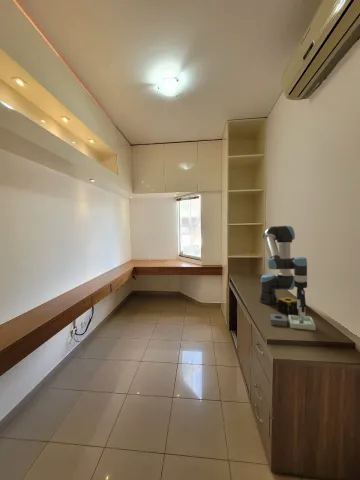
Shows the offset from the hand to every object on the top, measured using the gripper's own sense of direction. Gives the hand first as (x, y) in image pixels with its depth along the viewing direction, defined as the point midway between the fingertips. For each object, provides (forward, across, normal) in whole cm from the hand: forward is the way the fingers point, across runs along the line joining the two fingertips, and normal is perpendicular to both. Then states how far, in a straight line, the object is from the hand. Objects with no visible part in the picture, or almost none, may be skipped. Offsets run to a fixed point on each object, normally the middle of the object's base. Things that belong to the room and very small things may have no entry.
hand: (301, 312), depth 150 cm
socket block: (+8, 0, -14) cm, 16 cm away
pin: (+7, 0, 0) cm, 7 cm away
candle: (+8, -20, -6) cm, 22 cm away
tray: (+8, 0, 0) cm, 8 cm away
